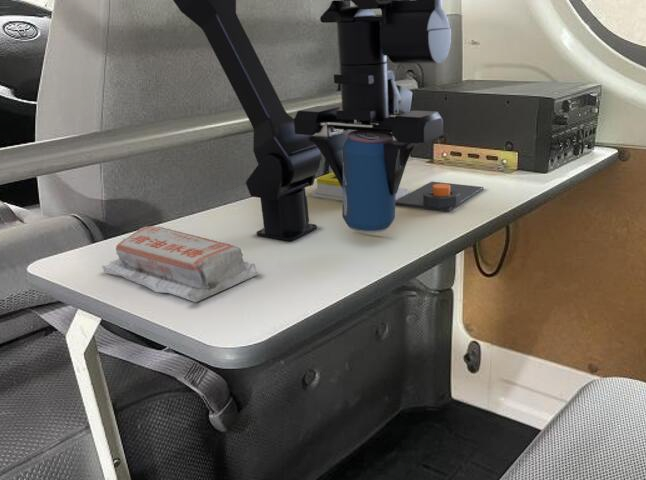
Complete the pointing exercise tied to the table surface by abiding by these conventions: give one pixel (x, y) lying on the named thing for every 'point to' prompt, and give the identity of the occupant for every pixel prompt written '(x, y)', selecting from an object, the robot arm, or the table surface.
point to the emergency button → (337, 188)
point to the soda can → (366, 182)
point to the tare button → (441, 190)
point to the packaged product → (179, 263)
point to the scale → (438, 197)
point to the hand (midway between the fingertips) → (369, 191)
